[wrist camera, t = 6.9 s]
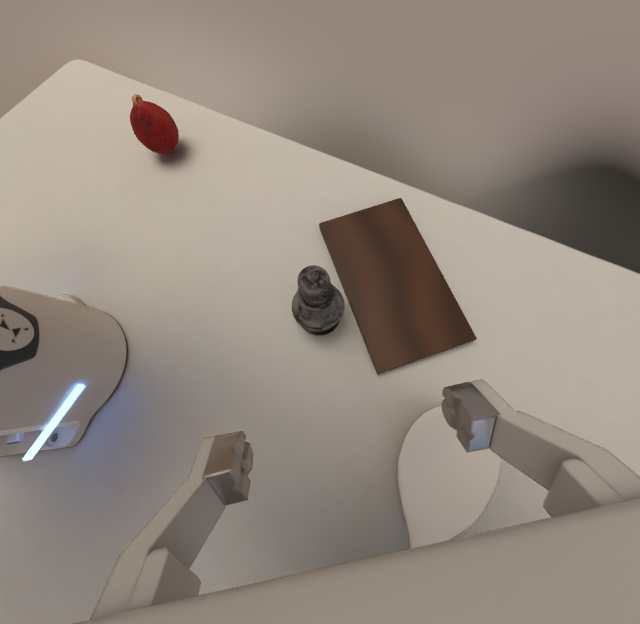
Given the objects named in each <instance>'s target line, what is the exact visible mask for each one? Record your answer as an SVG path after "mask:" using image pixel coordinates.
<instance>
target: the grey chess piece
mask: <svg viewBox="0 0 640 624" xmlns="http://www.w3.org/2000/svg"><path fill="white" fill-rule="evenodd" d="M298 286H299V287H298V291H297V292H296V294H295V296H294V298H293V301H292V312H293V316H294V318H295V319H296V321H297V322H298V323H299V324H300V325H301V326H302V327H303V328H304V329H305V330H306V331H307V332H309V333H311V334H314V335H325V334H328V333H330V332H331V331H333V330H334V329H335V328H336V327H337V325H338V324H339V322H340V319H341V317H342V315H343V312H344V300H343V297H342V294H341V293H340V292H339V290H338V289H337V288H336V287H334V286H333V285H332V284H331V283H330V278H329V275H328V273H327V272H326V271H325V270H324V269H323V268H321V267H319V266H308V267H306V268H304V269H303V270H302V271H301V272H300V274H299V276H298Z"/></svg>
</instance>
